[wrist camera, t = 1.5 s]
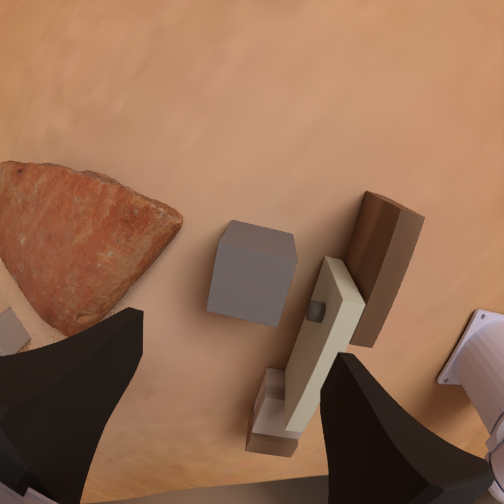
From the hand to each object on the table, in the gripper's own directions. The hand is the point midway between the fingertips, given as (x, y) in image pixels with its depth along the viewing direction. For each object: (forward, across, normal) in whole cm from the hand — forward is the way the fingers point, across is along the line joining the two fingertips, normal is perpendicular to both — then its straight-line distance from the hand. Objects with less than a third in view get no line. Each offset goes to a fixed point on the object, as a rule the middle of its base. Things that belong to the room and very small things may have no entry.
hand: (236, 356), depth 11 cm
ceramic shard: (+12, +14, 0) cm, 19 cm away
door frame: (+10, -5, +4) cm, 12 cm away
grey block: (+11, 0, 0) cm, 11 cm away
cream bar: (+10, -5, +4) cm, 12 cm away
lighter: (+11, +24, +13) cm, 29 cm away
